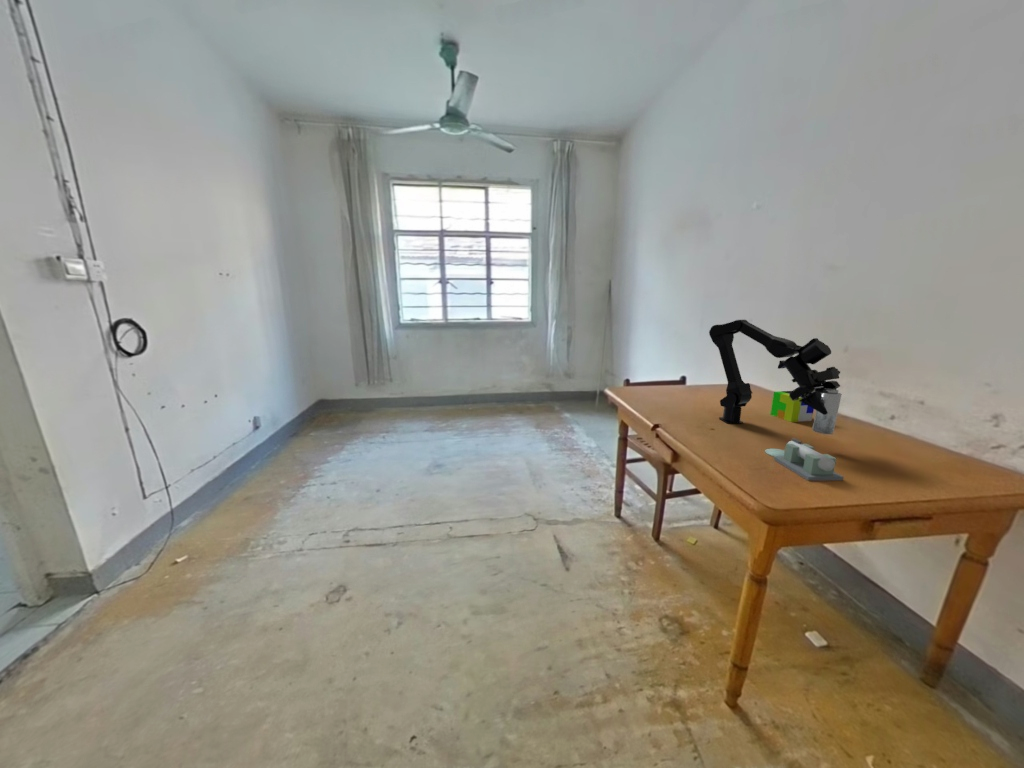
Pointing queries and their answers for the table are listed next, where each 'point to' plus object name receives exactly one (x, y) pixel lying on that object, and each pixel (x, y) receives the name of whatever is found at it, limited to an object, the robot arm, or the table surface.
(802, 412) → the puzzle toy
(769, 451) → the pale green disc
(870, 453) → the table surface
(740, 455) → the table surface
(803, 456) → the shaft stand
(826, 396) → the canister
